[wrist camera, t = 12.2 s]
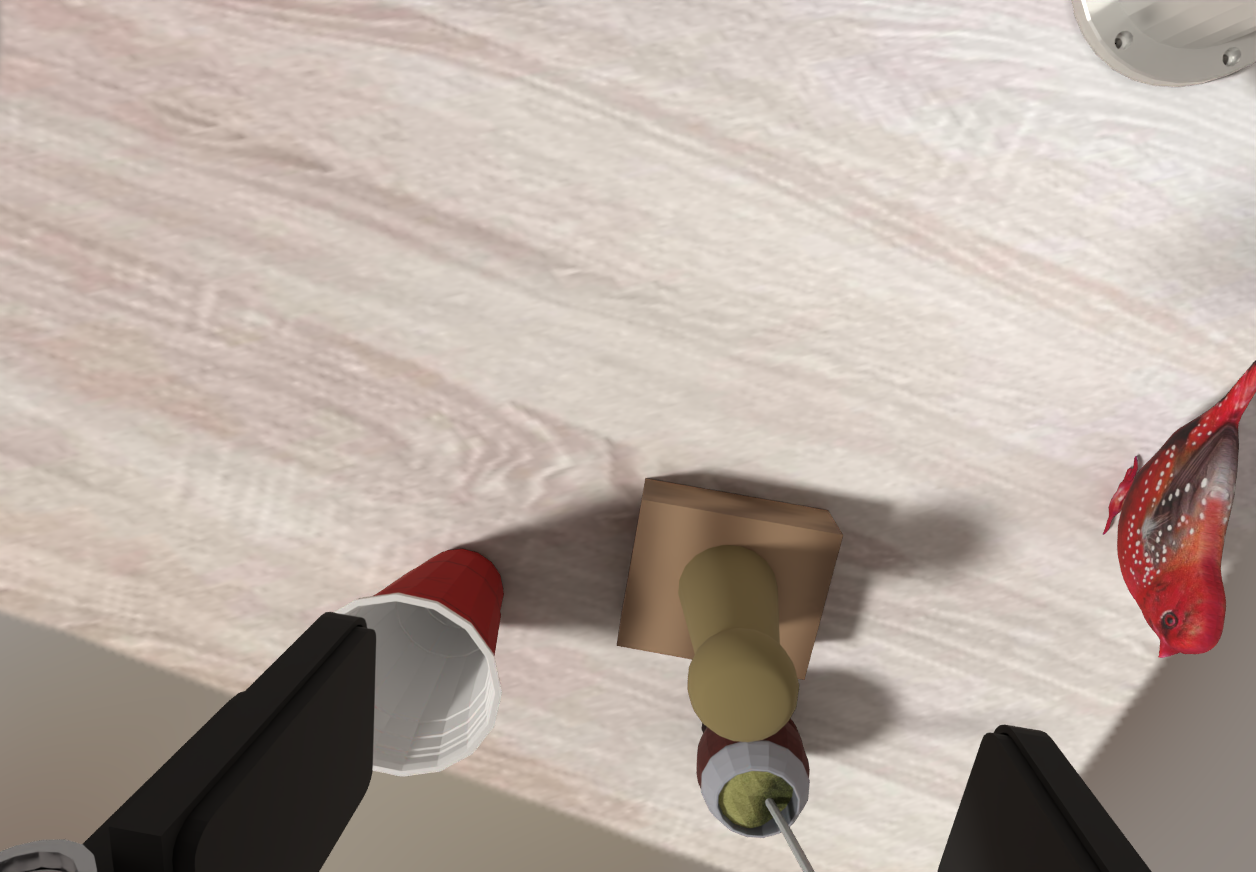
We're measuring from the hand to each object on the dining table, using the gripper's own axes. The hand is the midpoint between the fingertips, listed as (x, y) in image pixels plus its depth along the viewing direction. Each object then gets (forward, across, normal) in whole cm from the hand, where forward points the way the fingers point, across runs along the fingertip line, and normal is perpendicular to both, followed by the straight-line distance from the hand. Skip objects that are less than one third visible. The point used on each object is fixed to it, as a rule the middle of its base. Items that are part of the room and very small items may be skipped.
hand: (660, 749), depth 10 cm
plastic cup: (+32, +12, +17) cm, 38 cm away
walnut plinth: (+32, -5, +12) cm, 35 cm away
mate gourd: (+32, -9, +24) cm, 41 cm away
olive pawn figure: (+28, -5, +12) cm, 31 cm away
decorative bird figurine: (+33, -28, +2) cm, 43 cm away
